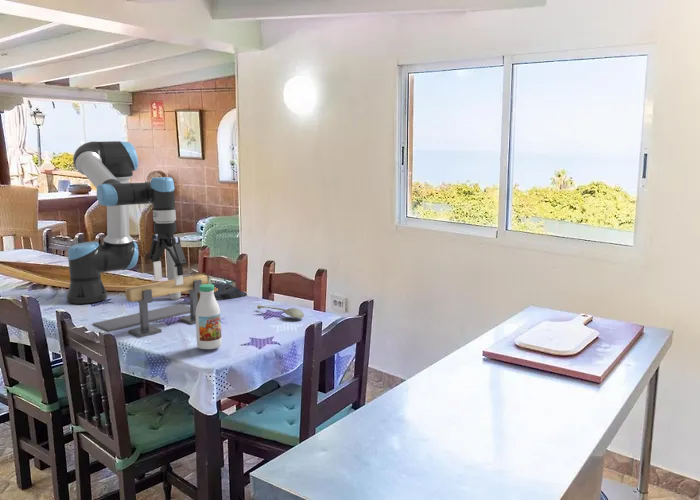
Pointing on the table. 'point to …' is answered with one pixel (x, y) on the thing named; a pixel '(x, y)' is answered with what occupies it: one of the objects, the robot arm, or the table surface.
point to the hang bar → (163, 287)
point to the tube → (171, 275)
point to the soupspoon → (287, 311)
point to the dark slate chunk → (227, 292)
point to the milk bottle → (208, 319)
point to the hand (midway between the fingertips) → (168, 282)
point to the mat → (135, 318)
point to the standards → (147, 298)
